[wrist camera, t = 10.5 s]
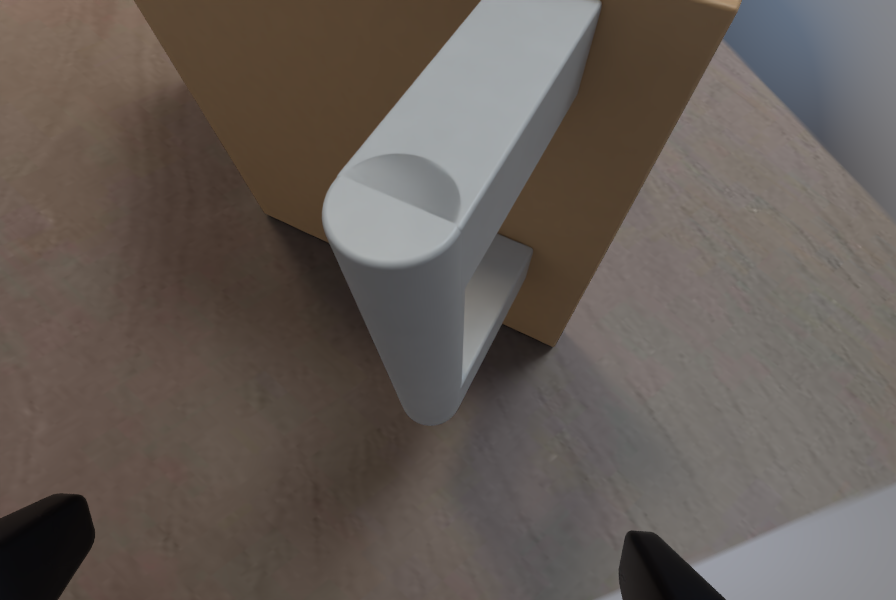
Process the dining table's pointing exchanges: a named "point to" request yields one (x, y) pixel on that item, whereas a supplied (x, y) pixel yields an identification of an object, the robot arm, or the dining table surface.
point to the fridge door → (446, 149)
